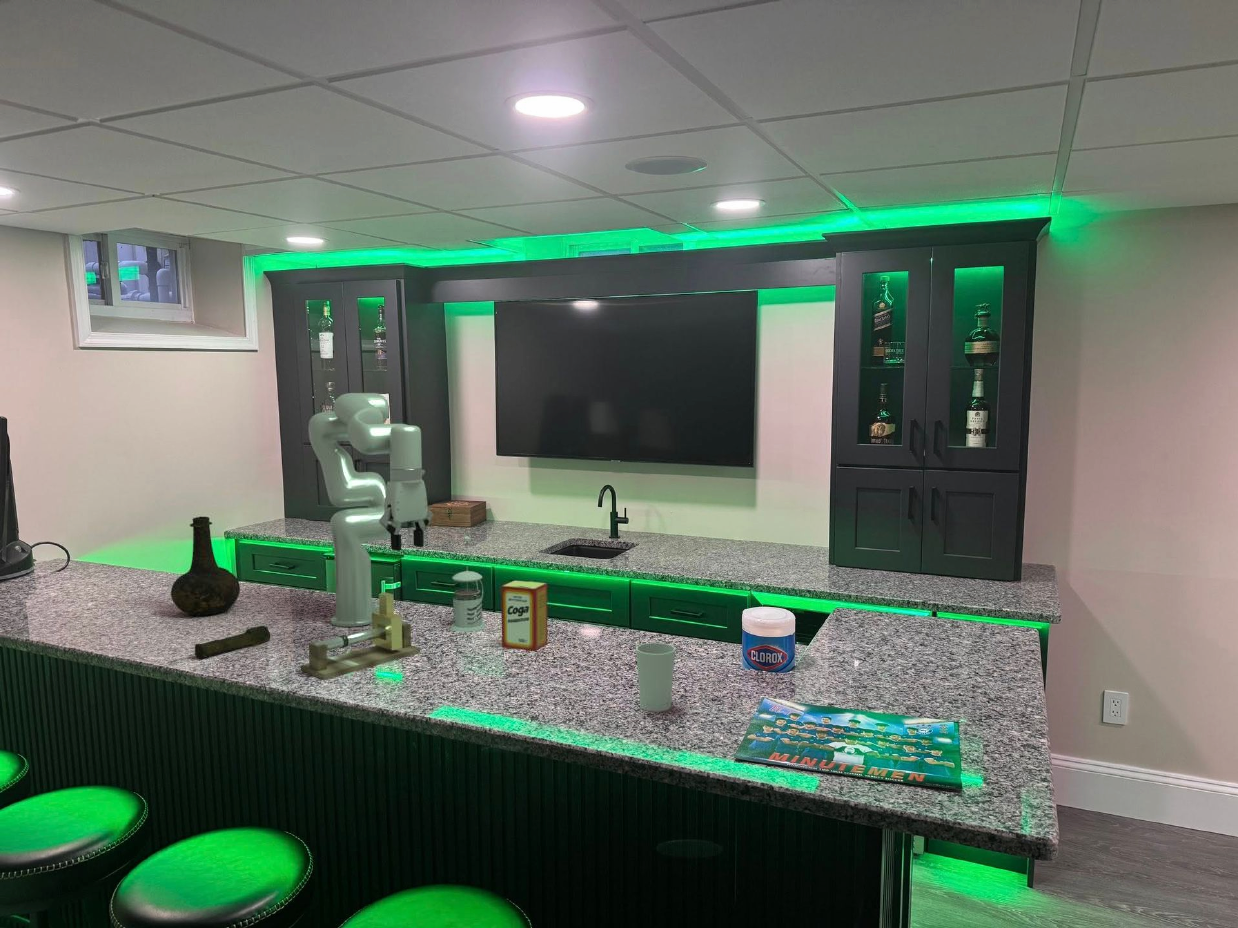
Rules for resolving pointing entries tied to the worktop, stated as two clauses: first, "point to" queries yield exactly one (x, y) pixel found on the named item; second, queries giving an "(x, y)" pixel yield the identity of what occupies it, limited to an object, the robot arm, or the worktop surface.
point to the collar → (387, 623)
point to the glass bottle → (204, 578)
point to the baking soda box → (524, 615)
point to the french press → (467, 602)
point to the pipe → (354, 638)
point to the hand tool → (233, 642)
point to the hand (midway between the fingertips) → (407, 547)
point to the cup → (655, 675)
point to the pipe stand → (355, 657)
